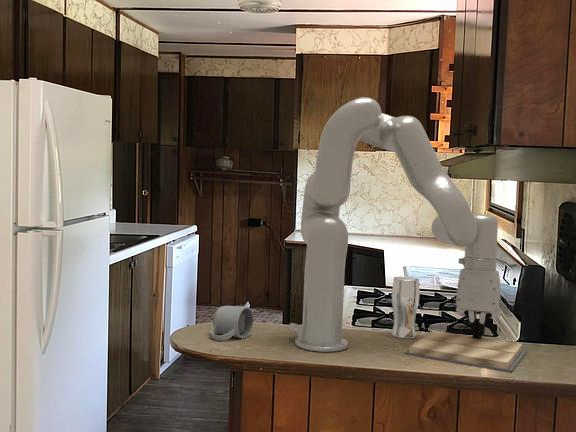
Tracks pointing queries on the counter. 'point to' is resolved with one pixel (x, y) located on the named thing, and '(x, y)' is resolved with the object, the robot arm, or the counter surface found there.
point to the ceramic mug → (232, 322)
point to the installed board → (463, 353)
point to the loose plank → (475, 342)
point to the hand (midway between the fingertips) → (477, 337)
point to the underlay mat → (476, 364)
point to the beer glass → (405, 306)
